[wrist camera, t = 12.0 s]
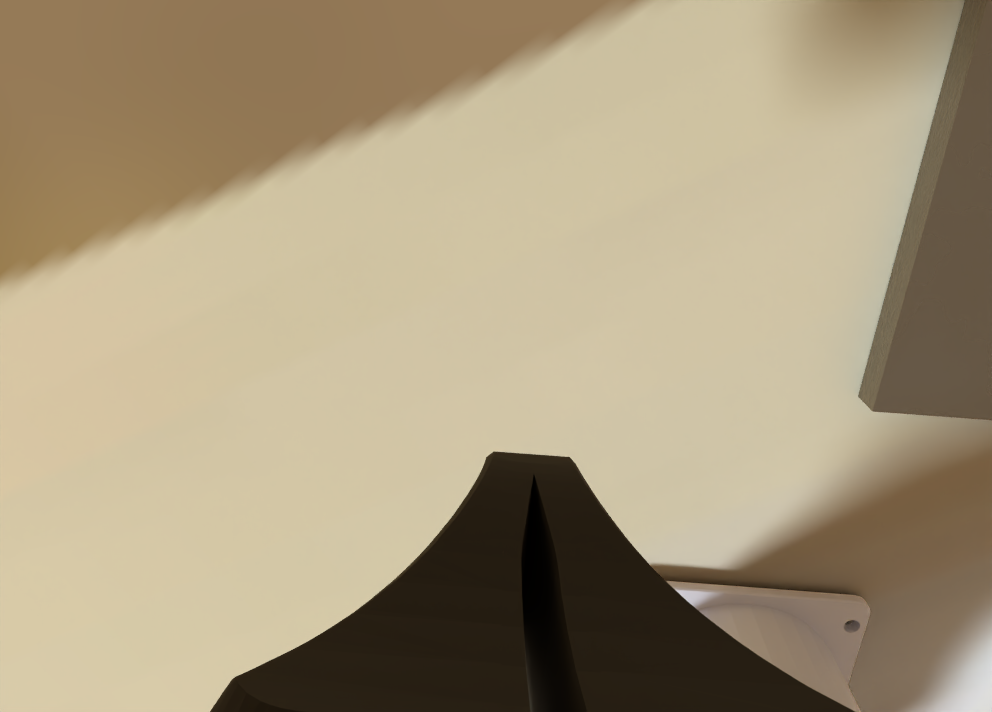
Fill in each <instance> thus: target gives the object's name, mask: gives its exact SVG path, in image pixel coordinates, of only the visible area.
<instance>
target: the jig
mask: <svg viewBox="0 0 992 712" xmlns="http://www.w3.org/2000/svg"><path fill="white" fill-rule="evenodd" d="M858 397H859V398H860V399H861V400H862V401H863V402H864V403H865V404H866V405H867V406H868V407H869V408H870V409H871V410H872V411H874V412H888V413H902V414H916V415H929V416H943V417H957V418H971V419H984V420H992V0H965V3H964V7H963V11H962V14H961V18H960V22H959V25H958V29H957V33H956V37H955V40H954V44H953V48H952V51H951V55H950V59H949V62H948V66H947V70H946V74H945V77H944V81H943V85H942V88H941V92H940V96H939V99H938V103H937V107H936V110H935V114H934V118H933V122H932V125H931V129H930V133H929V136H928V140H927V144H926V147H925V151H924V155H923V159H922V162H921V166H920V170H919V173H918V177H917V181H916V184H915V188H914V192H913V196H912V199H911V203H910V207H909V210H908V214H907V218H906V221H905V225H904V229H903V233H902V236H901V240H900V244H899V247H898V251H897V255H896V258H895V262H894V266H893V270H892V273H891V277H890V281H889V284H888V288H887V292H886V295H885V299H884V303H883V307H882V310H881V314H880V318H879V321H878V325H877V329H876V332H875V336H874V340H873V344H872V347H871V351H870V355H869V358H868V362H867V366H866V369H865V373H864V377H863V381H862V384H861V388H860V392H859V395H858Z"/></svg>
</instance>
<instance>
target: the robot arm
mask: <svg viewBox="0 0 992 712" xmlns="http://www.w3.org/2000/svg"><path fill="white" fill-rule="evenodd" d="M870 611H871V610H870V608H869V606H868V604H867V602H866V601H865V599H863V598H862V597H861V596H857V595H848V594H834V593H821V592H808V591H795V590H781V589H768V588H755V587H742V586H728V585H715V584H702V583H689V582H675V581H665V580H664V579H663V578H662V577H661V576H660V575H659V574H658V573H657V572H656V571H655V570H654V569H653V568H652V567H651V566H650V565H649V564H648V563H647V562H646V560H645V559H644V558H643V557H642V556H641V555H640V554H639V552H638V551H637V550H636V549H635V548H634V547H633V545H632V544H631V543H630V542H629V541H628V539H627V538H626V537H625V536H624V534H623V533H622V532H621V530H620V529H619V528H618V527H617V525H616V524H615V523H614V521H613V520H612V519H611V517H610V516H609V515H608V513H607V512H606V511H605V509H604V508H603V506H602V505H601V504H600V502H599V501H598V499H597V498H596V496H595V495H594V493H593V492H592V490H591V489H590V487H589V486H588V484H587V482H586V481H585V479H584V478H583V476H582V474H581V473H580V471H579V469H578V467H577V466H576V464H575V463H574V462H573V460H572V459H571V458H570V457H561V456H547V455H533V454H519V453H506V452H493V453H491V454H490V455H489V456H488V457H486V460H485V464H484V466H483V468H482V471H481V473H480V475H479V476H478V478H477V480H476V482H475V484H474V485H473V487H472V489H471V490H470V492H469V493H468V495H467V496H466V498H465V499H464V501H463V502H462V504H461V505H460V506H459V508H458V509H457V511H456V512H455V514H454V515H453V516H452V518H451V519H450V520H449V522H448V523H447V524H446V525H445V526H444V528H443V529H442V530H441V531H440V532H439V534H438V535H437V536H436V537H435V538H434V540H433V541H432V542H431V543H430V544H429V546H428V547H427V548H426V549H425V550H424V551H423V552H422V553H421V554H420V555H419V556H418V557H417V558H416V559H415V560H414V561H413V562H412V563H411V564H410V565H409V566H408V567H407V568H406V569H405V570H404V571H403V572H402V573H401V574H400V575H399V576H398V577H397V578H396V579H395V580H393V581H392V582H391V583H390V584H389V585H388V586H386V587H385V588H384V589H383V590H381V591H380V592H379V593H378V594H377V595H375V596H374V597H373V598H372V599H371V600H369V601H368V602H367V603H366V604H364V605H363V606H362V607H360V608H359V609H358V610H356V611H355V612H354V613H352V614H351V615H349V616H348V617H346V618H345V619H343V620H342V621H340V622H339V623H337V624H336V625H334V626H333V627H331V628H329V629H328V630H326V631H325V632H323V633H321V634H320V635H318V636H316V637H315V638H313V639H311V640H310V641H308V642H306V643H304V644H302V645H301V646H299V647H297V648H295V649H293V650H291V651H289V652H287V653H285V654H283V655H281V656H279V657H277V658H275V659H273V660H271V661H268V662H266V663H264V664H262V665H260V666H258V667H256V668H254V669H252V670H250V671H248V672H246V673H243V674H241V675H239V676H236V677H235V678H233V679H232V680H231V682H230V683H229V685H228V686H227V688H226V689H225V690H224V692H223V693H222V695H221V696H220V698H219V699H218V701H217V702H216V704H215V705H214V707H213V708H212V710H211V711H210V712H861V710H860V708H859V706H858V704H857V702H856V700H855V698H854V696H853V694H852V692H851V690H850V688H849V686H848V684H849V681H850V677H851V674H852V671H853V668H854V665H855V661H856V658H857V655H858V652H859V649H860V646H861V642H862V639H863V636H864V633H865V630H866V627H867V623H868V620H869V617H870ZM850 620H854V621H853V622H852V623H850V624H845V623H846V622H848V621H850Z"/></svg>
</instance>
